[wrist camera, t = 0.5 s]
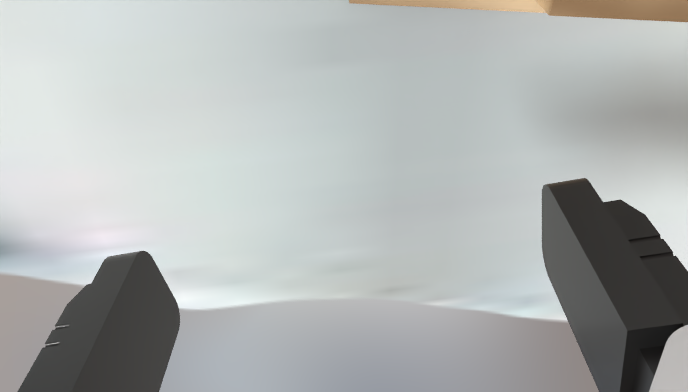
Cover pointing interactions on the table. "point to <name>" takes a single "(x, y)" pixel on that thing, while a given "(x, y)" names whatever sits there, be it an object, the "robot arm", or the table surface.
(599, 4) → the guide board
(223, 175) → the table surface
